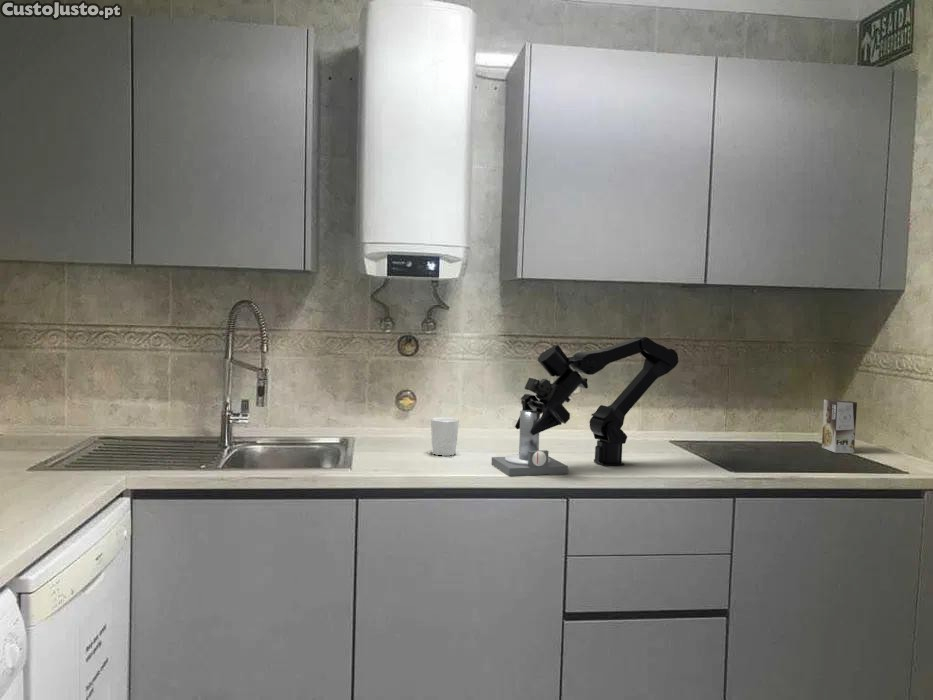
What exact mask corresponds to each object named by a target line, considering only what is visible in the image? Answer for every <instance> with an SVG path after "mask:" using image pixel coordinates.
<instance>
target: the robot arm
mask: <svg viewBox="0 0 933 700" xmlns="http://www.w3.org/2000/svg"><path fill="white" fill-rule="evenodd" d="M637 354H639V355H641V357H643V358H644V361H643V367H642V369H641V370H640V371H639V372H638V374H637V375H636V376H635V377H634V378H633V379H632V380H631V381H630V383H628V385H627V386H626V387H625V388H624V389H623V390H622V391H621V393H620V394H619V395H618V396H617V397H616V398H615V400H613V402H612V403H611V404H610V405H608V406H606V405H602V404H601V405H598V407H597V409H596V410H595V411H594V413H591V416H592V417H591V418H590V420H589V422H588V423H589V429H590V431H591V433H592V434H593V436H594V439H595V440H596V446H595V447H594V449H595V450H594V458H593V461H594V462H595V463H597V464H599V465H601V466H606V467H607V466H625V462H623V460H622V459H623V445H624V444H626V441H627V439H628V436H627V434H626V433H625V432H624V430H623V429H621V428H623V425H624V422H625V419H626V415H627V414H628V413H629V412H630V410H631V409H632V408H633V407H634V406H635V405H636V403H637V402H638V401H639V400H640V399H641V398H642V397H643V395H644V394H645V393H646V392H647V391H648V390H649V389H650V387H651V386H652V385H653V384H654V383H655V381H656V380H658V379H660V378H661V377H663V376H665V375H667V374H669V373H670V372H671V371H673V369H675V368H676V367H677V366H678V364H679V355H678V352H677V351H676V350H675V349H673V348H667V347H665V346H663V345H662V344H659V343H657V342H656V341H653V339H652V340H651V339H650V338H649V337H647V336H636V337H634V338H632V339H629V340H625V341H623V342H620V343H617V344H614V345H610V346H608V347H605V348H602V349H597V350H586V351H580V352H577V353H575V354H573V356H569V357H568V356H567V355H566V353H564V352H563V349H562V348H561V347H560V346H559V345H558V344H554V345H553V346H551V347H549V348H548V349H546V350H544V351H542V352H541V354H540V355H539V356H538V358H537V362H538V363H539V364H540V365H541V367H543V369H544V370H545V372H546V373H547V374H549V376H550V377H556V379H555V380H554V381H553V382H552V383H551V381H550V380H548V379H547V378H541V379H540V380H539V379H536V378H532V377H528V378H527V381H526V383H525V386H524V389H525V390H527V391H530V392H532V393H534V394H535V395H534V394H532V393H531V394H530V393H524V394H523V395H522V397H521V398H520V401H521V402H520V404H521V405H522V406H521V407H522V410H534V411H539V412H540V419H539V420H538V422H537V423H536V424H535V426H534V427H533V429H532V430H531V432H530V433H531V434H532V435H535V434H537V433H539V434H540V433H542V432H544V431H546V430H549V429H552V428H554V427H558V426H561V425H562V424H565V425H566V423H568V422H569V420H570V419H571V413H570V412H569V411H568V410H567V408H565V406H564V405H563V404H564V403H569V402H570V401H571V398H570V397H571V395H572V394H573V393H574V392H575V391H576V390H577V389H578V388H582V389H588V388H589V385H588V378H586V377H583V376H581V374H583V375H588V376H590V375H594V374H597V373H598V372H600V371H602V370H603V369H605V367H606V366H607V365H609V364H611V363H614V362H617V361H620V360H623V359H626V358H628V357H631V356H635V355H637ZM522 410H521V411H522ZM514 428H515V429H516V430H520V416H518V420H517V421H516V423H515V425H514Z"/></svg>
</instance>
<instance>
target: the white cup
mask: <svg viewBox="0 0 933 700" xmlns="http://www.w3.org/2000/svg"><path fill="white" fill-rule="evenodd" d="M430 419H431V420H430V422H431V423H430V427H431V432H430V433H431V445H432V446H431V447H432V448H431V449H432V453H431V454H432V455H434V454H436V455H435V456H438V455H442V456H441V457H451V456H450V455H452V456H455V455H456V454H457V445H458V434H459V422H460V421H459V418H457V417H456V418H455V417H444V416H443V417H442V416H440V417H439V416H438V417H432V418H430ZM454 454H455V455H454Z"/></svg>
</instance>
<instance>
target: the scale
mask: <svg viewBox="0 0 933 700" xmlns="http://www.w3.org/2000/svg"><path fill="white" fill-rule="evenodd" d="M491 465H492V466H493V465H494V466H493V467H494V468H496V467H497V468H496V469H498V470H499V469H500V471H501V472H502V471H503V472H502V473H504V474H505V473H506V474H505V475H506V476H508V477H523V476H525V477H526V476H527V475H528V476H543V475H542V474H552V475H567V474H566V473H568V474H569V466H568V465H567V464H564V463H562V462H560V460H559V461H558V460H557V459H555V458H553V457H551V456H549V451H548V450H544V449H543V450H539V451H528V460H521V459H519V453H518V454H517V453H516V454H508V455H506V456H492V457H491ZM564 473H565V474H564Z"/></svg>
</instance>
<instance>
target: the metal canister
mask: <svg viewBox="0 0 933 700" xmlns="http://www.w3.org/2000/svg"><path fill="white" fill-rule="evenodd" d="M519 417H520V429H519V439H518V440H519V441H518V443H519V444H518V446H519V447H518V454H519V459H521V460H528V451H540V450H539V449H540V433H537V434H535V435H532V434H531V433H530V432H531V430H532V429H533V427H534V426H535V424H536V423H537V422H538V420H539V419H540V418H541V414H540V412H539V411H534V410H520V412H519Z"/></svg>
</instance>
